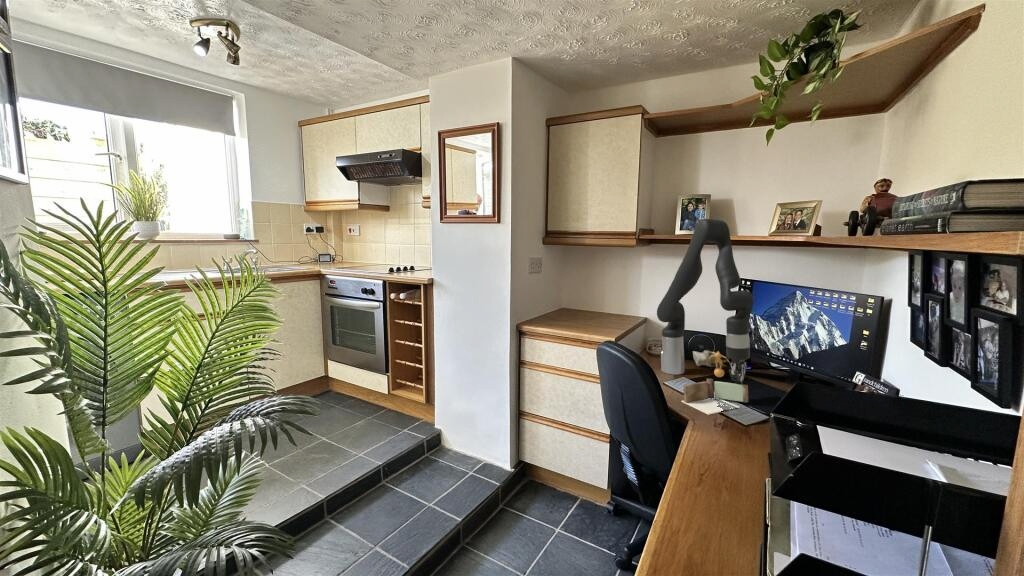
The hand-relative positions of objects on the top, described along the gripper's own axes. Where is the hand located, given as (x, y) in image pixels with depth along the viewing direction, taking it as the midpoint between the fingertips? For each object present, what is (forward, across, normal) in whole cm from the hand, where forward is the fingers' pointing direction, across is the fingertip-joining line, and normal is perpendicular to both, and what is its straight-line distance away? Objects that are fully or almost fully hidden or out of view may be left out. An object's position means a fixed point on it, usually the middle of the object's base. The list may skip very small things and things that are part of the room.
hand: (738, 390), depth 145 cm
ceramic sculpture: (+5, +37, +24) cm, 44 cm away
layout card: (+3, -11, +6) cm, 13 cm away
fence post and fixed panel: (+4, -9, +11) cm, 15 cm away
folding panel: (+3, -4, +1) cm, 5 cm away
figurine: (+5, +22, +14) cm, 26 cm away
